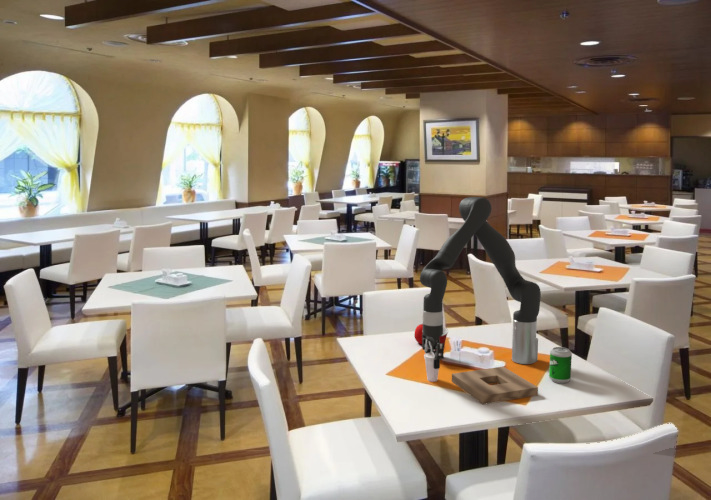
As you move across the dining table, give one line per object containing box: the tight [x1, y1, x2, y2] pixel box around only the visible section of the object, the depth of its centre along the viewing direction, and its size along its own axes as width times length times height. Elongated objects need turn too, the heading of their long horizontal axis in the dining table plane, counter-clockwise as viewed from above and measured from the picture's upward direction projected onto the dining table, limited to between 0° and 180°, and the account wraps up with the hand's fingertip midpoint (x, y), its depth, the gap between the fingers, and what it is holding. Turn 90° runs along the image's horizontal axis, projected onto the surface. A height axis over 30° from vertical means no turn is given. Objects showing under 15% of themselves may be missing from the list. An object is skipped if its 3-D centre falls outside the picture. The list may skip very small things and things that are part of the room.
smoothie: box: [423, 350, 440, 383], centre depth 223 cm, size 6×6×14 cm
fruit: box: [414, 323, 423, 345], centre depth 266 cm, size 9×9×10 cm
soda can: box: [548, 346, 573, 384], centre depth 221 cm, size 8×8×12 cm
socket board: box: [451, 366, 539, 405], centre depth 215 cm, size 22×22×3 cm
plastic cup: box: [422, 326, 449, 355], centre depth 247 cm, size 11×11×12 cm
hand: (432, 365), depth 223 cm, fingers closed on smoothie, 6 cm apart
